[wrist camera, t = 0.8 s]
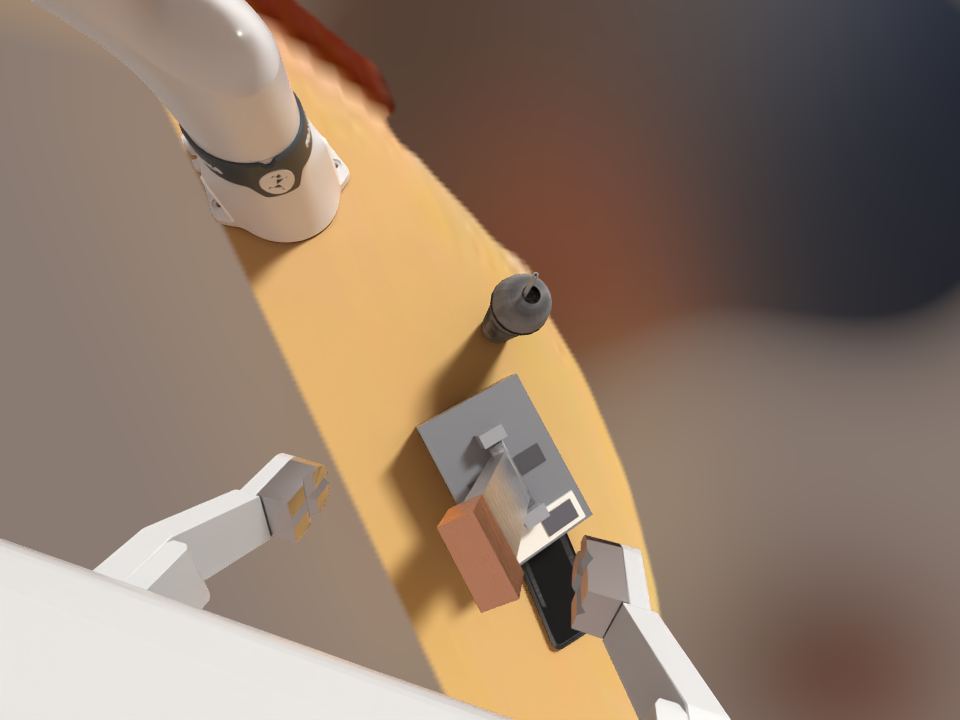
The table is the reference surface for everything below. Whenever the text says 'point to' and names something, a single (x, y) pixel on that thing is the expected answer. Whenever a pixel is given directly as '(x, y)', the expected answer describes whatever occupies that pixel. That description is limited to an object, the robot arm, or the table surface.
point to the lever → (490, 531)
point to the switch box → (513, 419)
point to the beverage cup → (517, 308)
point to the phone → (553, 589)
